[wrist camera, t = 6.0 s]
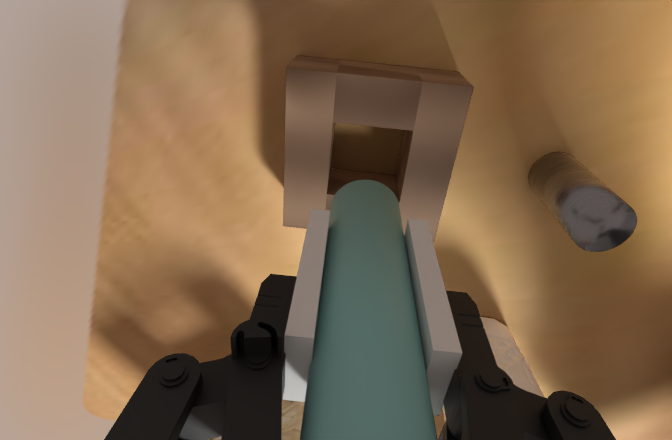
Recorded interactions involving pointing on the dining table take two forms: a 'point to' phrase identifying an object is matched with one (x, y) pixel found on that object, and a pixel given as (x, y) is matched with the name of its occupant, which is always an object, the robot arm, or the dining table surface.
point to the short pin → (582, 203)
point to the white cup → (509, 357)
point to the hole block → (376, 111)
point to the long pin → (367, 328)
